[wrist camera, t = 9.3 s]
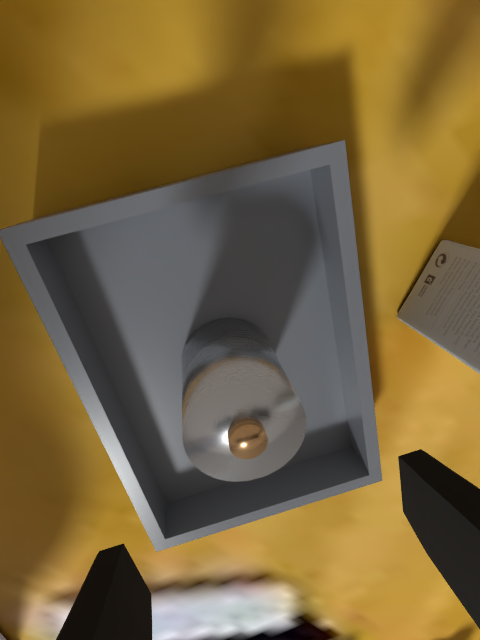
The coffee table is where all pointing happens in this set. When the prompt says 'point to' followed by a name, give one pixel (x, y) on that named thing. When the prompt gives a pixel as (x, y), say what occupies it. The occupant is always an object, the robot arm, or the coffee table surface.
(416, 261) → the coffee table surface
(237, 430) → the cell
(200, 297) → the grey tray
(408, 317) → the skincare box
